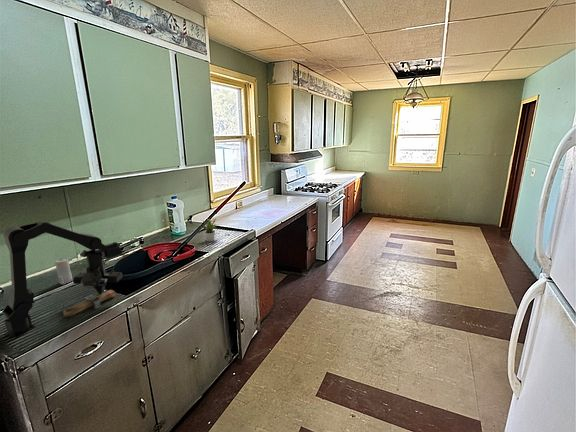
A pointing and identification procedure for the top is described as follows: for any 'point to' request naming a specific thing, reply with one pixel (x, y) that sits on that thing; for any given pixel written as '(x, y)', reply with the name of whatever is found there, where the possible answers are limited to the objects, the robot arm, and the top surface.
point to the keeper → (94, 301)
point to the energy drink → (63, 270)
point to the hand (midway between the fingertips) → (101, 294)
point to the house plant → (209, 230)
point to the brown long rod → (86, 304)
